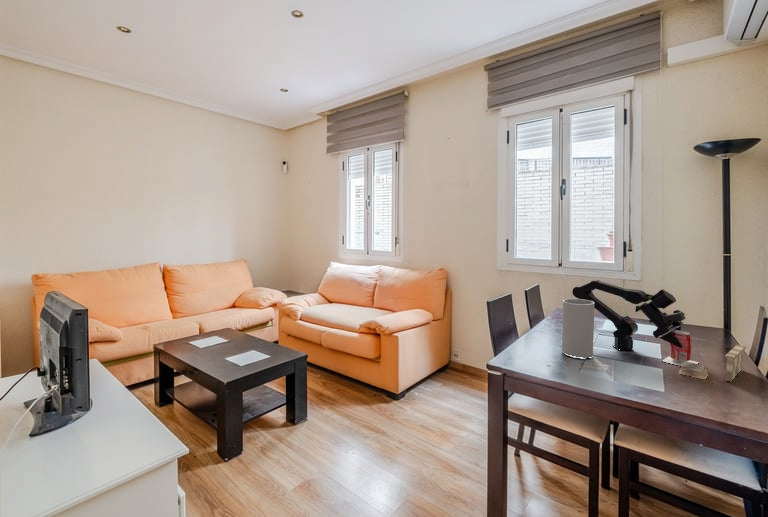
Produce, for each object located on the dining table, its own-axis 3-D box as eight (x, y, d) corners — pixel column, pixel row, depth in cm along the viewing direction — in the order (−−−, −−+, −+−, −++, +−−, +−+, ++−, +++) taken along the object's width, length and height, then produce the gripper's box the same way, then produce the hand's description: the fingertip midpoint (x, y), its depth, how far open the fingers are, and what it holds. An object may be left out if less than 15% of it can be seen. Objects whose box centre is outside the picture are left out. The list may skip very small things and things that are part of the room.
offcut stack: (678, 374, 139) (679, 363, 138) (681, 371, 142) (681, 360, 141) (705, 381, 132) (706, 369, 132) (707, 377, 136) (708, 366, 135)
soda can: (680, 356, 153) (681, 329, 152) (695, 362, 146) (697, 334, 145) (664, 356, 153) (666, 330, 152) (678, 363, 146) (680, 335, 145)
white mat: (661, 361, 151) (661, 360, 151) (669, 356, 157) (669, 355, 157) (691, 369, 143) (691, 368, 143) (698, 363, 149) (698, 362, 148)
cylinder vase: (584, 350, 167) (586, 298, 165) (598, 360, 154) (599, 304, 152) (557, 350, 168) (558, 298, 166) (568, 360, 156) (569, 304, 153)
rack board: (732, 383, 130) (734, 356, 129) (723, 380, 132) (725, 355, 131) (743, 370, 140) (745, 346, 139) (735, 368, 142) (737, 344, 141)
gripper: (663, 307, 145) (696, 340, 138) (678, 301, 156) (709, 331, 148) (640, 322, 153) (670, 354, 145) (656, 315, 163) (684, 344, 155)
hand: (684, 345), depth 148 cm, fingers closed on soda can, 7 cm apart
